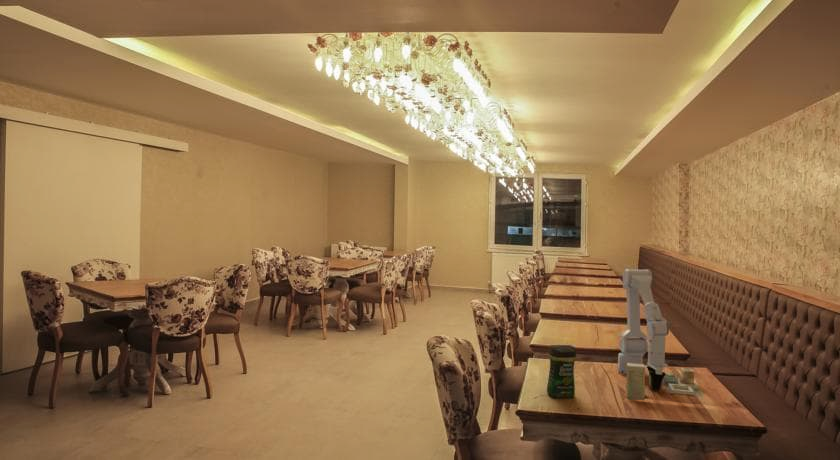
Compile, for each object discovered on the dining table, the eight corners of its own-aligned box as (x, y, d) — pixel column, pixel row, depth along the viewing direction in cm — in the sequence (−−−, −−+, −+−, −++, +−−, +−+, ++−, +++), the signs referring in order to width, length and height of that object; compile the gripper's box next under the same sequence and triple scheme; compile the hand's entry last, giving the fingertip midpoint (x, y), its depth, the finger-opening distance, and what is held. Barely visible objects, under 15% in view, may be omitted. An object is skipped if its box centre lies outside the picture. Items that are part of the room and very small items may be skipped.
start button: (666, 382, 211) (667, 375, 211) (665, 379, 214) (665, 373, 214) (674, 382, 211) (674, 376, 210) (672, 380, 213) (673, 374, 213)
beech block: (682, 386, 209) (682, 370, 208) (680, 383, 213) (680, 367, 212) (693, 387, 208) (694, 371, 207) (691, 384, 212) (692, 368, 211)
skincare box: (644, 397, 200) (645, 364, 199) (644, 401, 196) (646, 367, 195) (625, 394, 202) (626, 362, 201) (625, 398, 198) (626, 365, 197)
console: (663, 384, 210) (664, 376, 210) (661, 380, 215) (662, 373, 215) (677, 386, 209) (678, 378, 209) (675, 381, 214) (675, 374, 214)
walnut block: (650, 393, 204) (650, 377, 204) (648, 389, 208) (649, 374, 207) (661, 394, 203) (662, 378, 203) (659, 390, 207) (660, 375, 206)
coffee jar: (552, 399, 195) (553, 348, 194) (544, 392, 203) (545, 342, 202) (578, 398, 197) (579, 347, 196) (569, 391, 204) (570, 342, 204)
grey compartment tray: (667, 395, 201) (668, 389, 201) (661, 383, 216) (661, 377, 216) (703, 399, 198) (704, 393, 198) (694, 386, 213) (695, 380, 213)
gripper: (671, 358, 197) (670, 395, 197) (664, 348, 211) (663, 382, 211) (650, 356, 198) (649, 393, 199) (645, 346, 212) (643, 381, 213)
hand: (655, 387), depth 205 cm, fingers closed on walnut block, 4 cm apart
